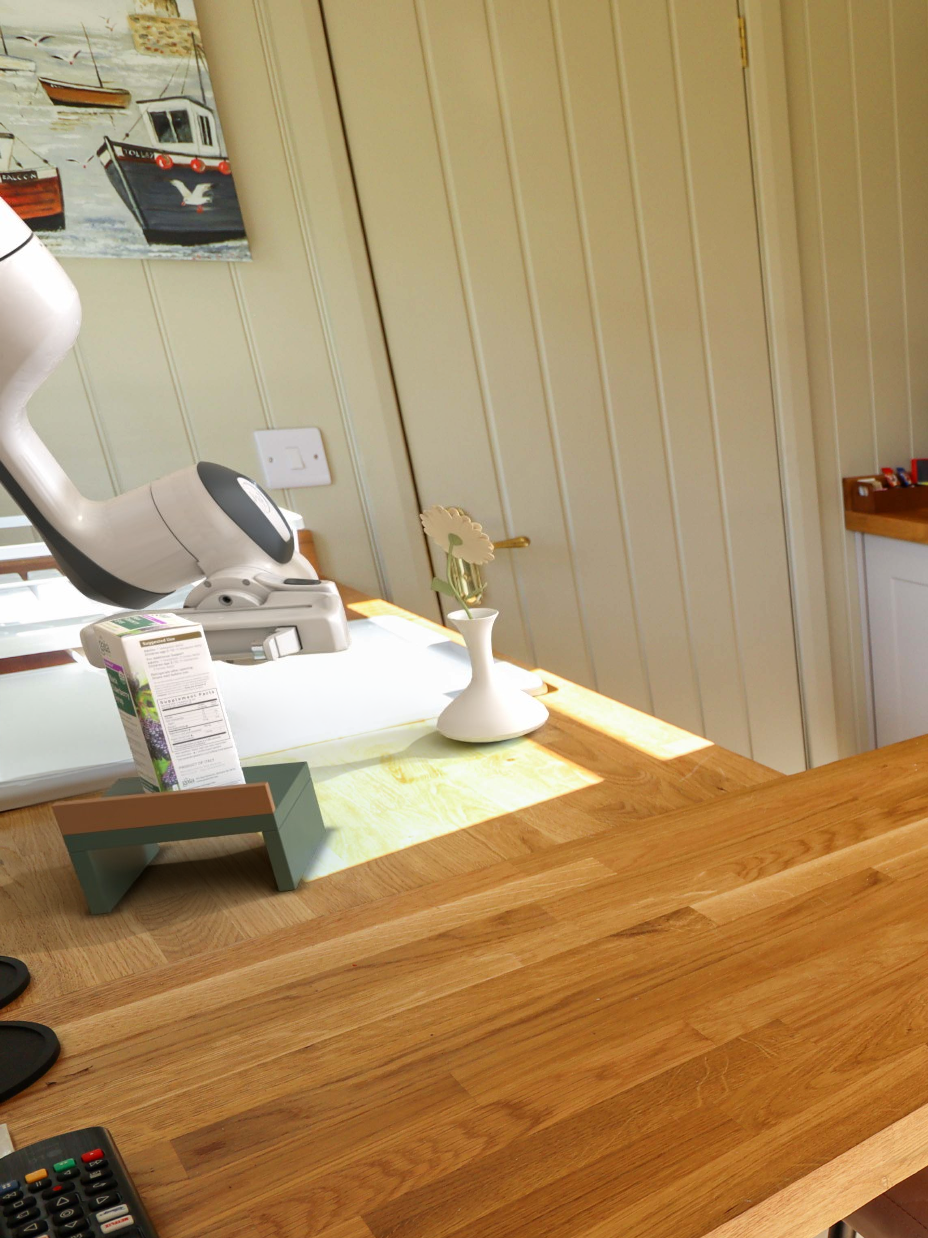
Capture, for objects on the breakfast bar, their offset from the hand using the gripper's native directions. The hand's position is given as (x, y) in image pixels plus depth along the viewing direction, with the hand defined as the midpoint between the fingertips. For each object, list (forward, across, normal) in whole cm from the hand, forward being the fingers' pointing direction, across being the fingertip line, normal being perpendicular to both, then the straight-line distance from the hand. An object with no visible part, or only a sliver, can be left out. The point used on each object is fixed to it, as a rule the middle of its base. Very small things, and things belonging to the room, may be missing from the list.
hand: (198, 657), depth 101 cm
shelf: (+10, 0, +16) cm, 19 cm away
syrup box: (+9, 0, +9) cm, 13 cm away
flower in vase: (-20, +19, +16) cm, 32 cm away
